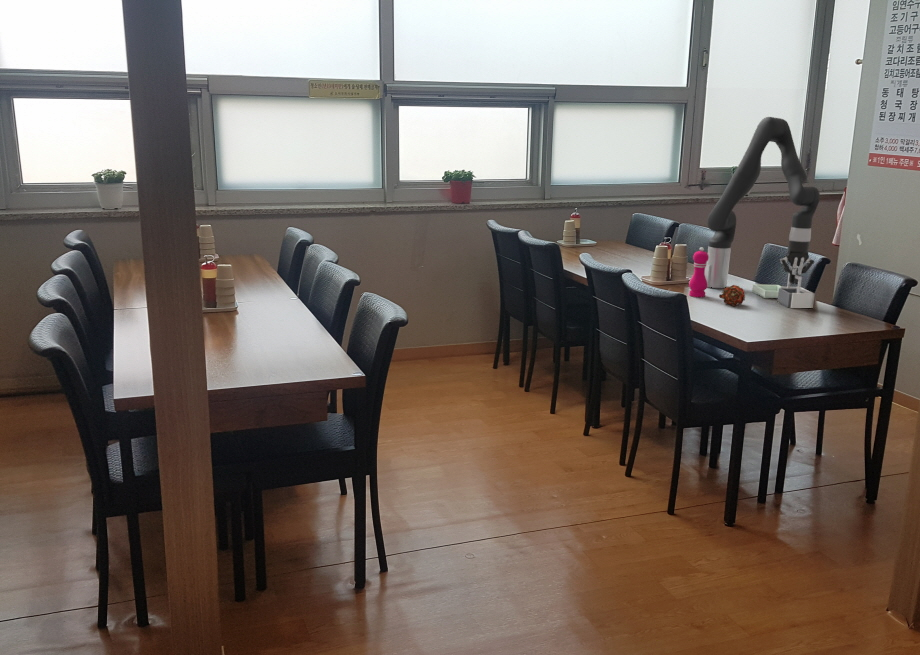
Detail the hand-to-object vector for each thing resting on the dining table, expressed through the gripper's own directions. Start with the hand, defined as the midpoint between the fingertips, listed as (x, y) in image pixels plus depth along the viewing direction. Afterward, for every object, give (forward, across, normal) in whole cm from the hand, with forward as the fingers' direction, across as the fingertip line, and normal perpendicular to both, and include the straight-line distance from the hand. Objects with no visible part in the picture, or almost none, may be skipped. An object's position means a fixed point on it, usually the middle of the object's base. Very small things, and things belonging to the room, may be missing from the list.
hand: (793, 283), depth 311 cm
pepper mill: (+9, +33, -14) cm, 37 cm away
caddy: (+9, 0, 0) cm, 9 cm away
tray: (+9, +1, -18) cm, 20 cm away
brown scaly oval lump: (+9, +24, +1) cm, 25 cm away
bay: (+9, -1, 0) cm, 9 cm away
